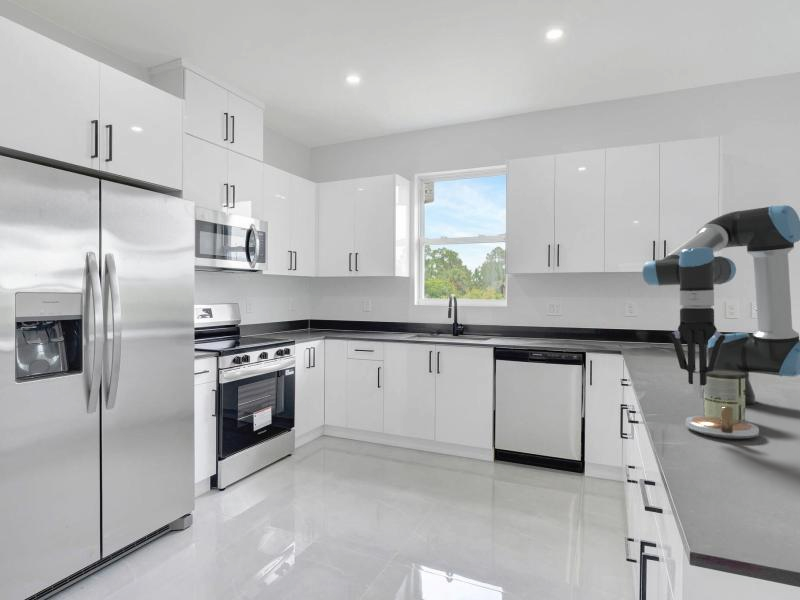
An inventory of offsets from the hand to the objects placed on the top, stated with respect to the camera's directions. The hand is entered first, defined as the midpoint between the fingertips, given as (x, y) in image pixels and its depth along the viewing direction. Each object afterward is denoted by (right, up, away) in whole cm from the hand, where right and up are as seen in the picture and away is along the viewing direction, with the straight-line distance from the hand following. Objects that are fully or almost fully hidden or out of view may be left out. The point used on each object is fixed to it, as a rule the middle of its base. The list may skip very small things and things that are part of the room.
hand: (697, 397), depth 121 cm
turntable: (+7, -9, +2) cm, 12 cm away
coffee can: (+17, -10, +15) cm, 25 cm away
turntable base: (+8, -10, +2) cm, 13 cm away
